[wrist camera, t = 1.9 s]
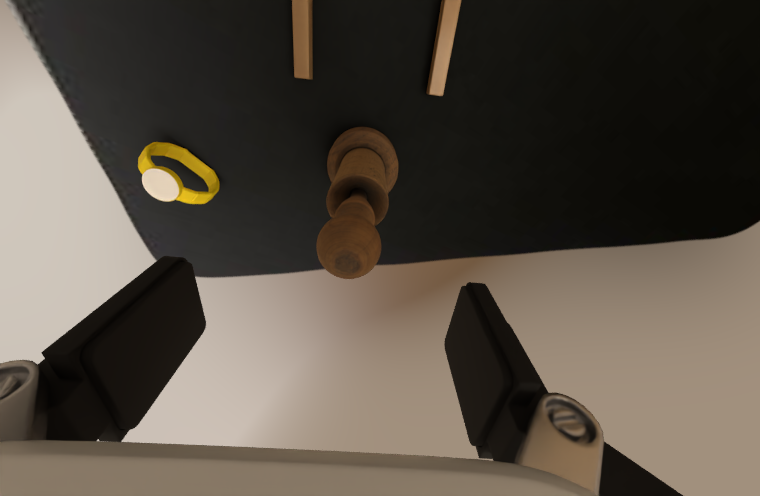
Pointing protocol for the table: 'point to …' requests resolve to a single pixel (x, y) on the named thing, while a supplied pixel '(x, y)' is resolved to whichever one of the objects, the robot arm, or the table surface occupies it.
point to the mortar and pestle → (356, 201)
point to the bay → (440, 52)
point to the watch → (174, 175)
